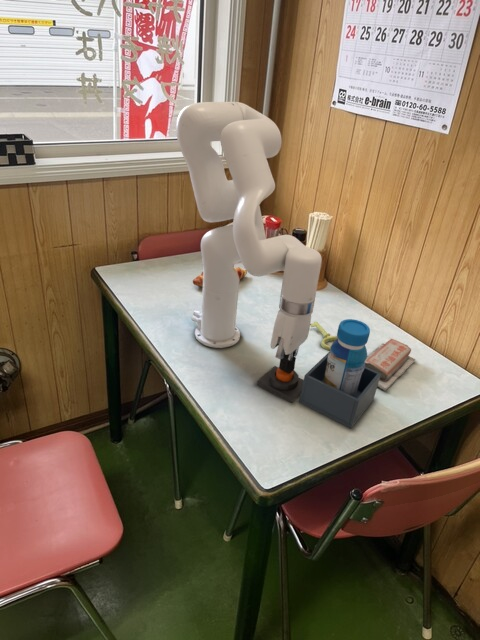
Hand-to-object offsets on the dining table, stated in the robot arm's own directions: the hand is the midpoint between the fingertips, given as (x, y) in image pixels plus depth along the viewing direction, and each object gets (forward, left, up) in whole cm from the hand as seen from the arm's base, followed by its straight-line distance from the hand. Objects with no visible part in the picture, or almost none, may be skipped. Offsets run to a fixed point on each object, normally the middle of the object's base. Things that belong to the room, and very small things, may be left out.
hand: (286, 369), depth 115 cm
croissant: (-45, +33, -5) cm, 56 cm away
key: (-2, +27, -5) cm, 27 cm away
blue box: (+12, +4, -5) cm, 14 cm away
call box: (0, 0, -5) cm, 5 cm away
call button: (0, 0, -2) cm, 2 cm away
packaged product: (+16, +25, -5) cm, 30 cm away
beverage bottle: (+12, +4, -4) cm, 14 cm away
